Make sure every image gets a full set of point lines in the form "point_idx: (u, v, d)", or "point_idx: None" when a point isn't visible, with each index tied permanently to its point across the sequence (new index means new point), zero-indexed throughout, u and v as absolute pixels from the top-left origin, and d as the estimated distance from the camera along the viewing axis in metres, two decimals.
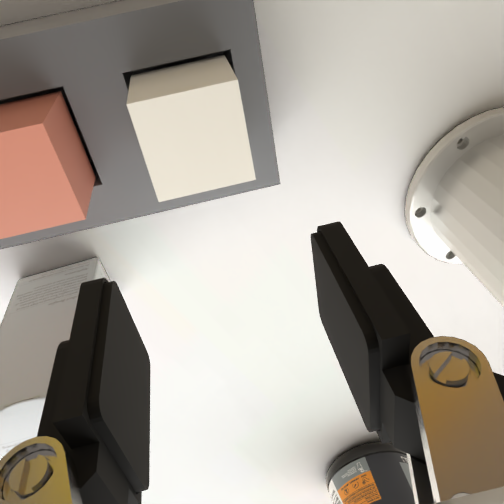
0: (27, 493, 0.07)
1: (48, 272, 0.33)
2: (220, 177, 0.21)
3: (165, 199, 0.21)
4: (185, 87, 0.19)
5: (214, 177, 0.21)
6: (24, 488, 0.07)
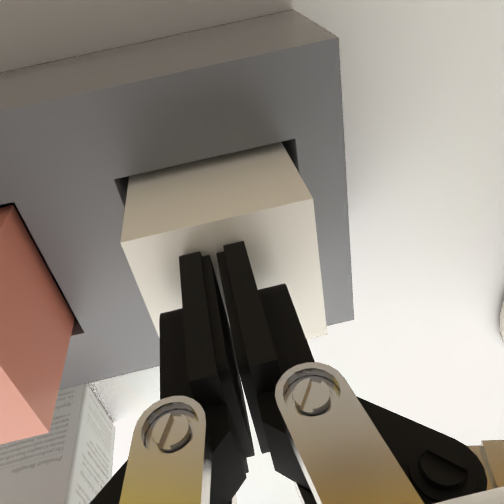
0: (165, 448, 0.07)
1: None
2: None
3: None
4: (220, 206, 0.11)
5: None
6: (164, 442, 0.08)
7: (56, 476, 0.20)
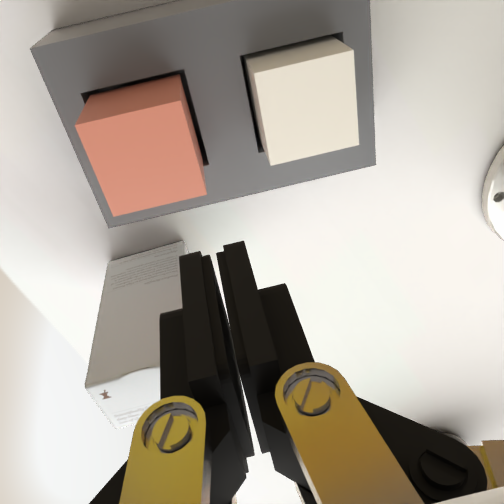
0: (165, 448, 0.07)
1: (137, 255, 0.34)
2: (327, 142, 0.23)
3: (277, 163, 0.24)
4: (304, 58, 0.21)
5: (322, 142, 0.23)
6: (164, 442, 0.08)
7: (176, 282, 0.30)
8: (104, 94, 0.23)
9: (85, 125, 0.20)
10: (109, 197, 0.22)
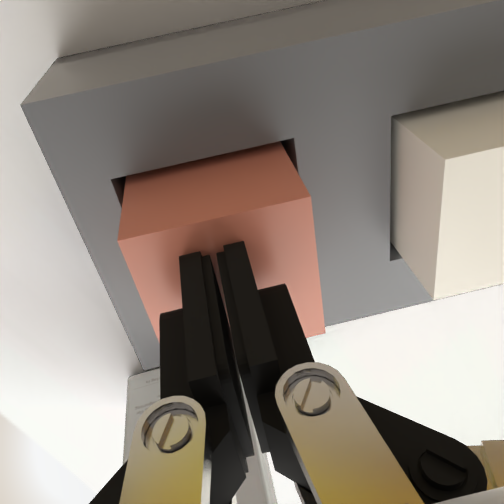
0: (165, 448, 0.07)
1: None
2: None
3: (444, 296, 0.14)
4: None
5: None
6: (164, 442, 0.08)
7: None
8: None
9: (136, 240, 0.11)
10: None
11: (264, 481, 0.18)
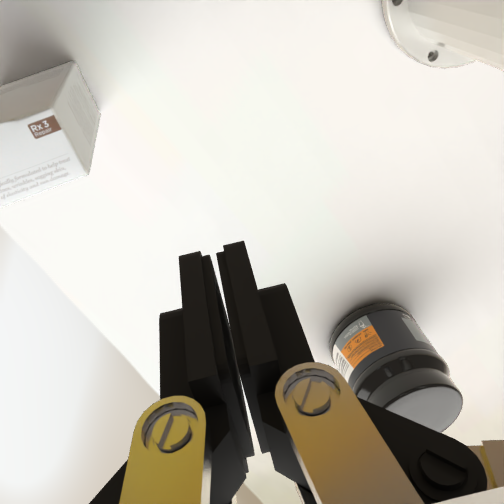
0: (165, 448, 0.07)
1: (26, 77, 0.32)
2: None
3: None
4: None
5: None
6: (164, 442, 0.08)
7: (56, 78, 0.29)
8: None
9: None
10: None
11: (62, 87, 0.27)
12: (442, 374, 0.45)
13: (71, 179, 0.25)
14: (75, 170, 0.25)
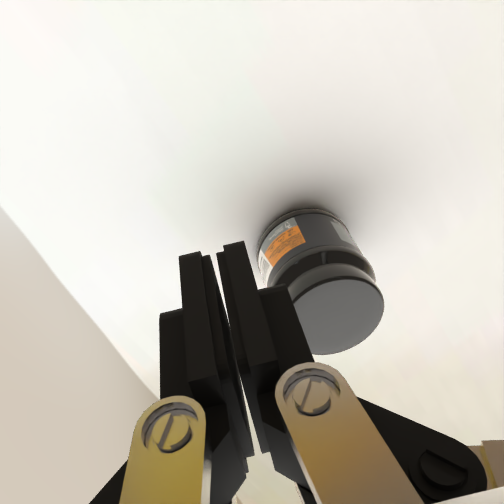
0: (165, 448, 0.07)
1: None
2: None
3: None
4: None
5: None
6: (164, 442, 0.08)
7: None
8: None
9: None
10: None
11: None
12: (362, 271, 0.42)
13: None
14: None
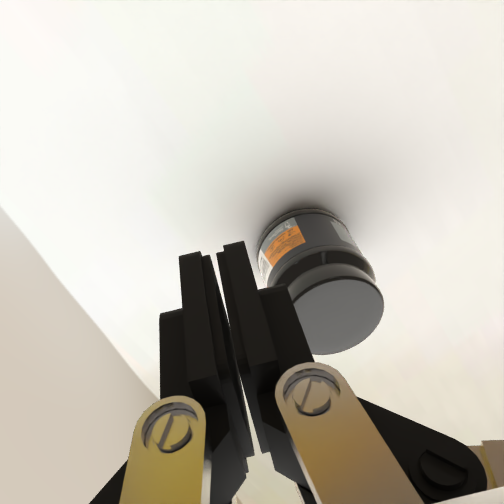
0: (165, 448, 0.07)
1: None
2: None
3: None
4: None
5: None
6: (164, 442, 0.08)
7: None
8: None
9: None
10: None
11: None
12: (362, 271, 0.42)
13: None
14: None
